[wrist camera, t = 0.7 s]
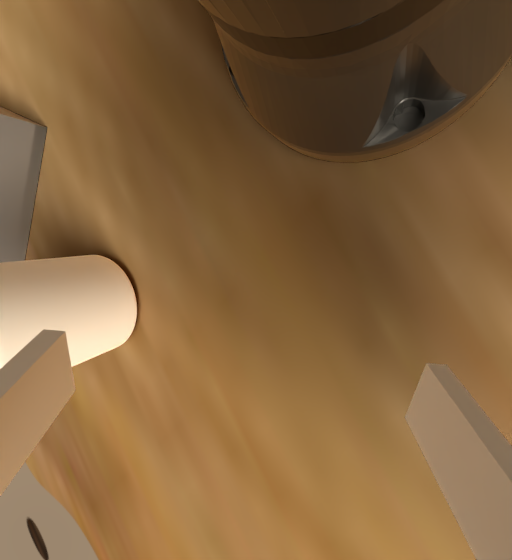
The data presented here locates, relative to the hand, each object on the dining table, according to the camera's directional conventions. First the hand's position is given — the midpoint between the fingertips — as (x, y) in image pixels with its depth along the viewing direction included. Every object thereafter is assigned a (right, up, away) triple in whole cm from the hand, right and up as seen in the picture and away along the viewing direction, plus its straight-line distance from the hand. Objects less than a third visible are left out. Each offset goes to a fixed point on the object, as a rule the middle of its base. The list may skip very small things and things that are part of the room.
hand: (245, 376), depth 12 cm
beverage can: (-13, +2, +16) cm, 20 cm away
